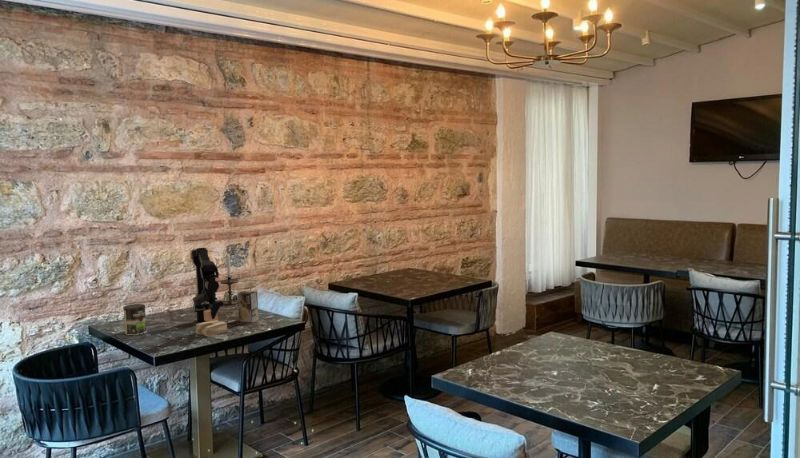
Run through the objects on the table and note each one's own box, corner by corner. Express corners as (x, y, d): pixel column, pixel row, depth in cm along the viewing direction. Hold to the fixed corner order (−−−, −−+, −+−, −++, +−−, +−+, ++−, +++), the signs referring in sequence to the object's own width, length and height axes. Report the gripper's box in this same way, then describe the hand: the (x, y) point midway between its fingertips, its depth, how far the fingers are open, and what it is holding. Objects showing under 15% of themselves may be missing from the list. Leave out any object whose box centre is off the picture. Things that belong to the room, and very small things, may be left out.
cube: (204, 320, 296) (203, 310, 296) (213, 318, 300) (212, 308, 299) (208, 322, 293) (207, 312, 292) (217, 320, 296) (217, 310, 296)
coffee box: (259, 319, 320) (258, 291, 319) (252, 322, 314) (251, 293, 313) (245, 318, 324) (244, 290, 322) (238, 321, 318) (237, 292, 316)
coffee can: (151, 331, 300) (149, 305, 298) (132, 336, 291) (131, 309, 290) (139, 329, 305) (137, 302, 304) (120, 333, 296) (118, 307, 295)
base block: (196, 333, 296) (195, 324, 295) (214, 328, 305) (214, 319, 304) (208, 337, 289) (208, 327, 289) (227, 332, 298) (226, 322, 297)
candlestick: (234, 305, 354) (232, 249, 350) (218, 305, 356) (215, 249, 352) (242, 301, 365) (240, 247, 361) (226, 301, 367) (223, 246, 363)
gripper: (186, 288, 296) (188, 317, 297) (202, 293, 282) (203, 324, 284) (207, 284, 303) (208, 313, 305) (223, 290, 290) (225, 320, 291)
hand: (210, 318), depth 296 cm, fingers closed on cube, 5 cm apart
